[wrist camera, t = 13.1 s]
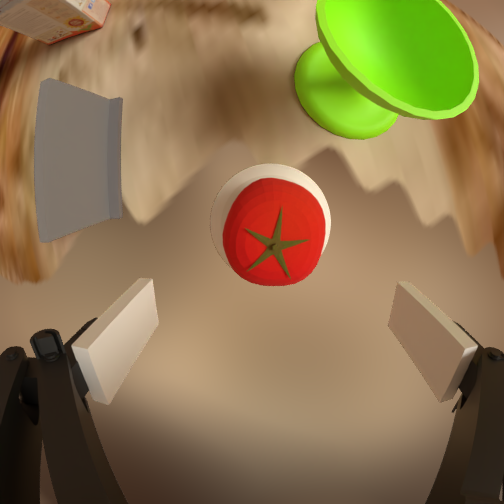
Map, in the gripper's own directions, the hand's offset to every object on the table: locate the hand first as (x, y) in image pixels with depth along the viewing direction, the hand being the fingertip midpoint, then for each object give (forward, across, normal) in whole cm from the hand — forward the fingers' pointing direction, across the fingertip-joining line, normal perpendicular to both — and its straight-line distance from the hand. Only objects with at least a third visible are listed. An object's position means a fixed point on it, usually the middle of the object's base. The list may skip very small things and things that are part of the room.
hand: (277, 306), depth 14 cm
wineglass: (+24, +11, +20) cm, 33 cm away
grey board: (+24, -24, +10) cm, 35 cm away
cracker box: (+25, -34, +38) cm, 56 cm away
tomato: (+23, 0, 0) cm, 23 cm away
